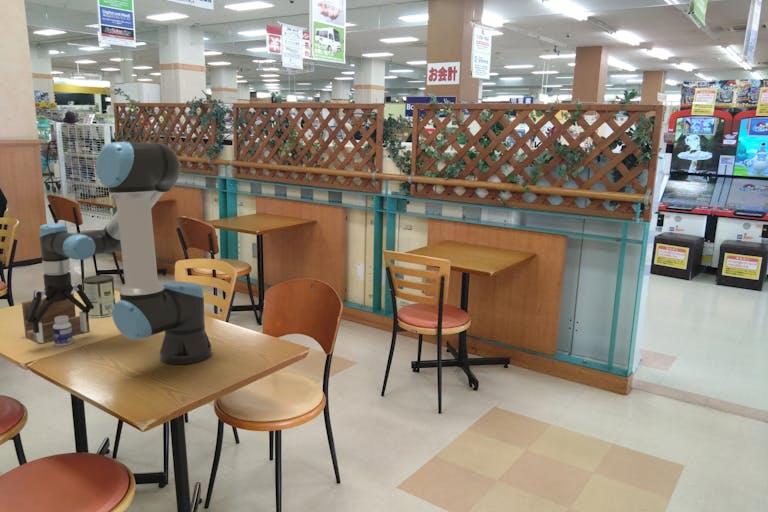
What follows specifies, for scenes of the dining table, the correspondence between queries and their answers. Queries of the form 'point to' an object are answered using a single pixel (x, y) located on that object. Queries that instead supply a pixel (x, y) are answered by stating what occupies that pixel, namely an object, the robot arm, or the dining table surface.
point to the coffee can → (100, 295)
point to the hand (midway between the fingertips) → (62, 336)
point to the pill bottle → (62, 331)
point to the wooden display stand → (48, 319)
